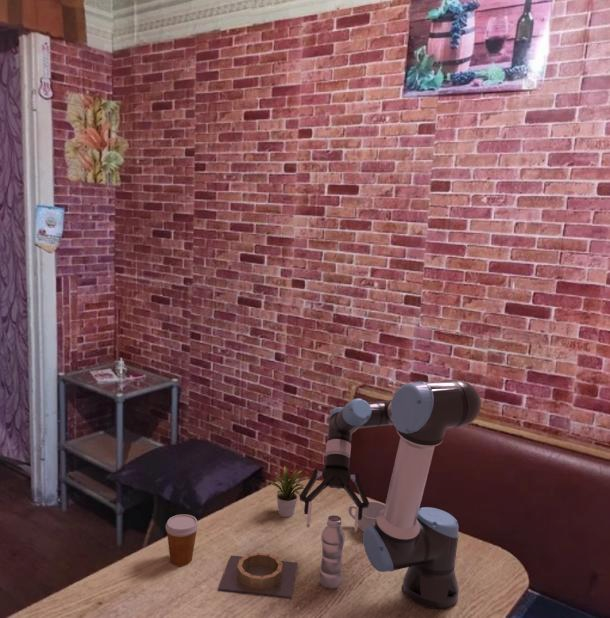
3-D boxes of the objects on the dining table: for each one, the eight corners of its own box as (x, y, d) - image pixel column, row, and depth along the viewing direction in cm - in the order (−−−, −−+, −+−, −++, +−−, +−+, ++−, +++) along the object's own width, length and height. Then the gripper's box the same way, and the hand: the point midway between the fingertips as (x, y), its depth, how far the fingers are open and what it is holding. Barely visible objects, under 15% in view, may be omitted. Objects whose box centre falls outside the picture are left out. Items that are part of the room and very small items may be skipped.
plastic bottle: (340, 593, 163) (345, 526, 160) (316, 589, 164) (320, 522, 161) (343, 580, 169) (348, 514, 166) (320, 576, 170) (324, 511, 167)
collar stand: (297, 564, 175) (298, 553, 175) (291, 598, 160) (292, 586, 159) (231, 557, 177) (231, 546, 176) (218, 590, 161) (218, 578, 161)
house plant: (294, 530, 194) (297, 483, 192) (258, 518, 200) (260, 473, 197) (313, 511, 207) (315, 467, 204) (277, 501, 213) (280, 458, 210)
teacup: (394, 530, 198) (396, 507, 197) (380, 544, 189) (382, 520, 188) (357, 516, 205) (358, 495, 204) (341, 529, 196) (343, 507, 195)
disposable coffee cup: (185, 547, 181) (186, 510, 179) (204, 561, 174) (205, 523, 172) (158, 558, 174) (159, 520, 172) (176, 573, 168) (177, 534, 166)
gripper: (378, 465, 183) (374, 536, 171) (297, 458, 185) (288, 527, 173) (379, 456, 177) (376, 529, 165) (296, 448, 179) (287, 519, 167)
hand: (331, 528), depth 169 cm, fingers open, 13 cm apart
